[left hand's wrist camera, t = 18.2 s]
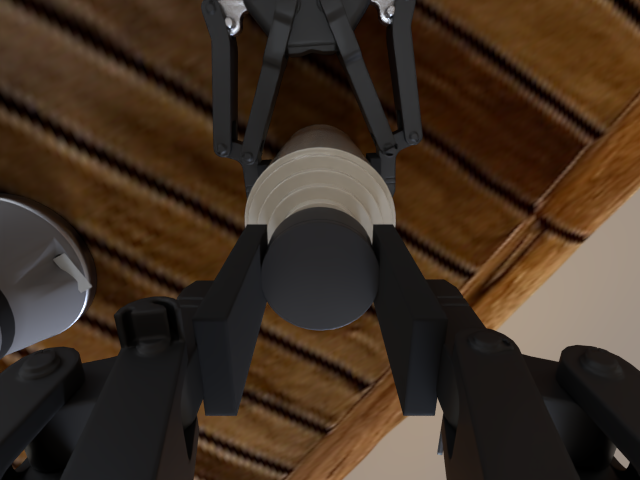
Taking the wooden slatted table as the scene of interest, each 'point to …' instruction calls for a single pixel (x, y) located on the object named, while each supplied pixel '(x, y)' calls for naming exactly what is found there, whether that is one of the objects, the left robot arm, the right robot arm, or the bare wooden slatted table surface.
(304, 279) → the cap
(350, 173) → the bottle
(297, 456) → the wooden slatted table surface
